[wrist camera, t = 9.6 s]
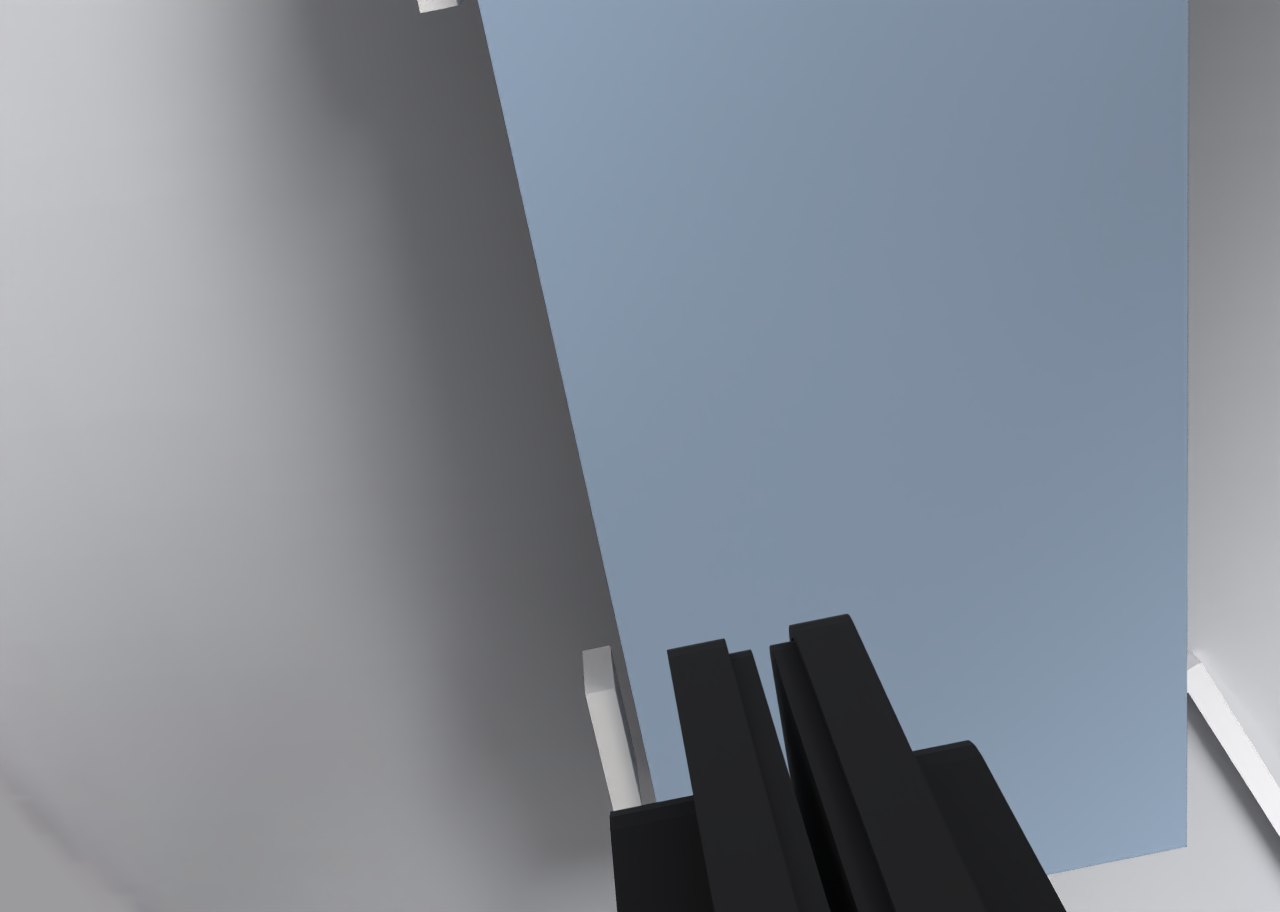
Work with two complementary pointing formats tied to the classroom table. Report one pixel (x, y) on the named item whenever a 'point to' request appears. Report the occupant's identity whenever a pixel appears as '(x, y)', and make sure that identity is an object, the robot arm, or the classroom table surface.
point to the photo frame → (1233, 739)
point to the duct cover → (881, 365)
